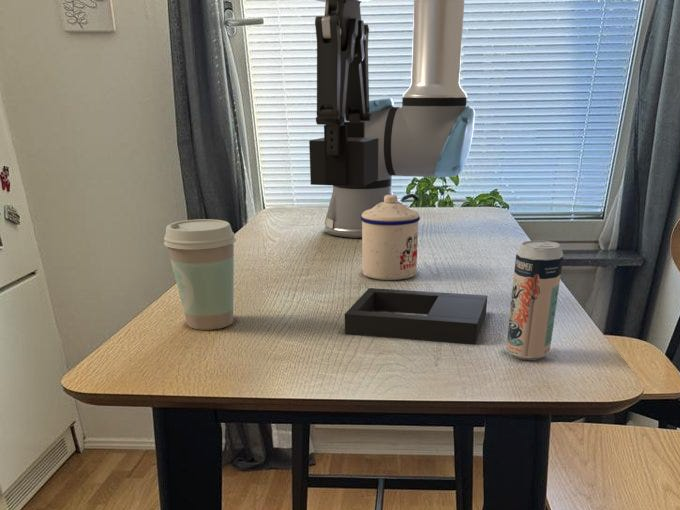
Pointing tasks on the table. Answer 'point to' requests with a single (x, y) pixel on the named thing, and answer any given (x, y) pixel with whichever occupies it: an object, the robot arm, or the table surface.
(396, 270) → the teacup with lid
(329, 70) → the robot arm
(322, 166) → the matte black cube
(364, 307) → the black rectangular tray
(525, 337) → the beer can
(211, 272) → the coffee cup
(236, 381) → the table surface
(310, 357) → the table surface
